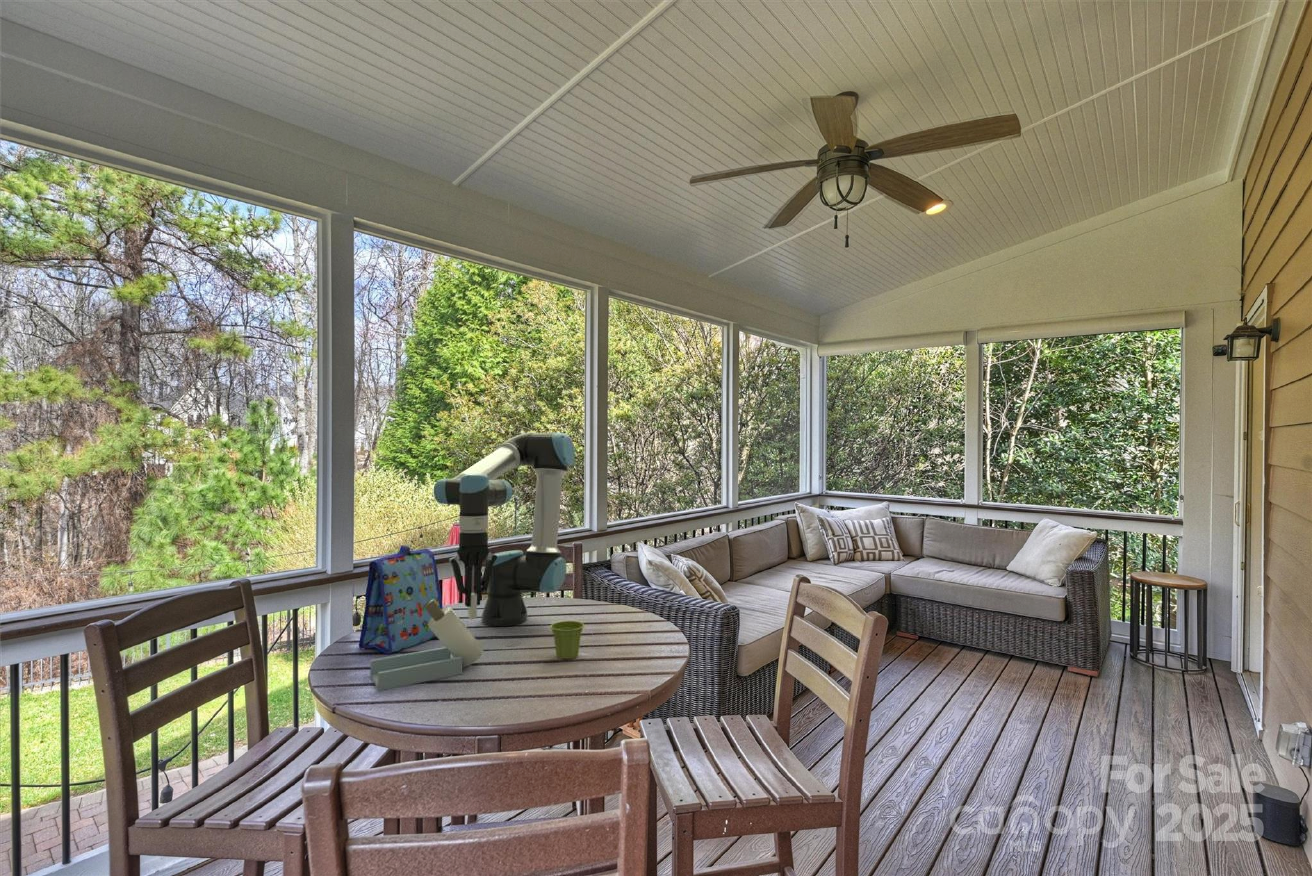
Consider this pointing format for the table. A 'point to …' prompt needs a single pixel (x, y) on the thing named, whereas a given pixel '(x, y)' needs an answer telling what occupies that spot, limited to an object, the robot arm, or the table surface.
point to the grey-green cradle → (414, 668)
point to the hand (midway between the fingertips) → (472, 617)
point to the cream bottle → (453, 633)
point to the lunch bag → (399, 600)
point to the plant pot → (567, 638)
